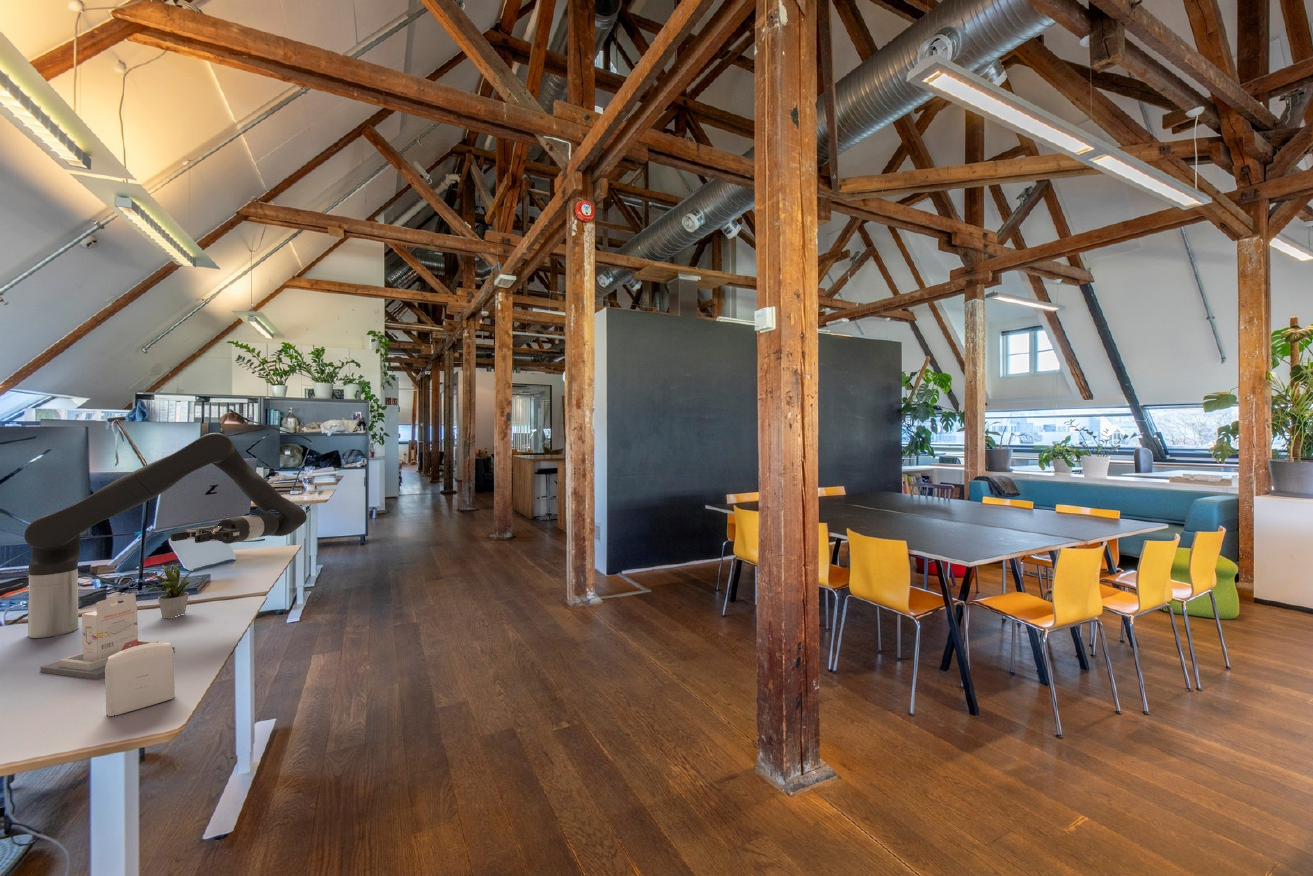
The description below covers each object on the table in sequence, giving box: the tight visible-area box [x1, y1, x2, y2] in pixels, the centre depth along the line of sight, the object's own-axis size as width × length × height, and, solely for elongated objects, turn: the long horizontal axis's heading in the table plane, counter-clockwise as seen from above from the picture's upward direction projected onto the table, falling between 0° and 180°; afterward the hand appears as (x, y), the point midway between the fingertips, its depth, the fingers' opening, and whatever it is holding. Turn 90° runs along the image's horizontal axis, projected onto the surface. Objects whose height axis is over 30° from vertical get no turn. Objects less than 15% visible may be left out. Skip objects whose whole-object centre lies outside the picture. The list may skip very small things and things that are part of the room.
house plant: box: [141, 562, 199, 619], centre depth 165 cm, size 14×14×16 cm
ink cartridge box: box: [81, 592, 139, 662], centre depth 132 cm, size 9×5×15 cm, turn 168°
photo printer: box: [104, 642, 176, 717], centre depth 110 cm, size 10×4×12 cm, turn 140°
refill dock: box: [40, 638, 176, 680], centre depth 132 cm, size 18×16×3 cm
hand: (183, 538), depth 148 cm, fingers open, 8 cm apart
